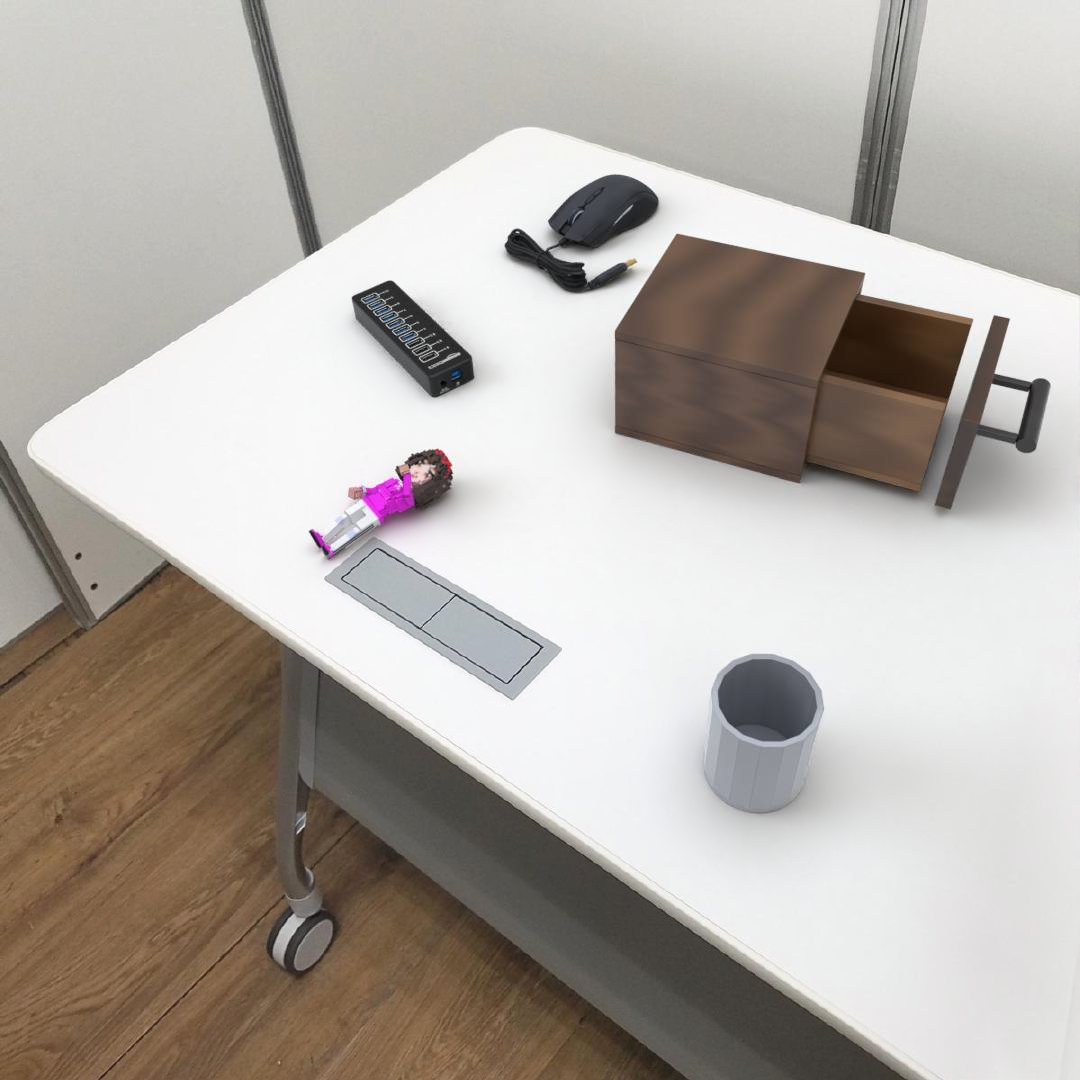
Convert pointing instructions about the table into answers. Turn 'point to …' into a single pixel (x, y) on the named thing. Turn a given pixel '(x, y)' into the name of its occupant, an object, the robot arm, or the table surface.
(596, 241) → the computer mouse
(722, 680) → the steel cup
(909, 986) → the table surface
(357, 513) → the character figurine
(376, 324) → the multiport hub
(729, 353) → the cabinet
